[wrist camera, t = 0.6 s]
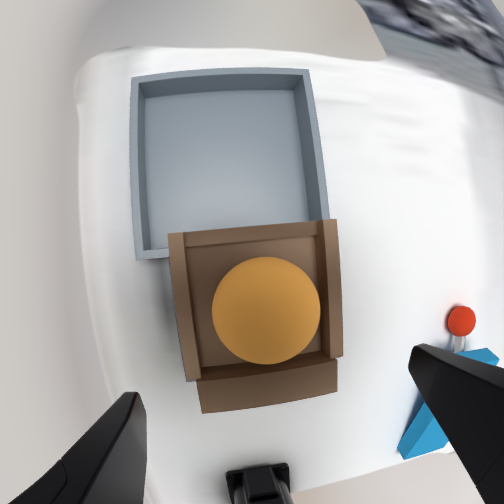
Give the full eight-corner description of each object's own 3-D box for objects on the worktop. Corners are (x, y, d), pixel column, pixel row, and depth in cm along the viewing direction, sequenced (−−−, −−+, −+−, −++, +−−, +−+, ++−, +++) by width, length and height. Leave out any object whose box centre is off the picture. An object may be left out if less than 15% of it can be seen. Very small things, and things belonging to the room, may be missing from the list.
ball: (304, 337, 14) (338, 370, 10) (217, 349, 13) (221, 390, 9) (298, 250, 14) (334, 254, 10) (206, 259, 13) (205, 267, 9)
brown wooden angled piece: (286, 327, 24) (345, 389, 13) (198, 337, 23) (192, 414, 12) (278, 227, 23) (339, 218, 12) (186, 236, 22) (166, 233, 11)
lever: (421, 414, 34) (475, 300, 29) (443, 447, 28) (513, 328, 22) (382, 422, 33) (437, 300, 28) (403, 460, 27) (478, 333, 21)
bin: (315, 241, 26) (331, 241, 22) (145, 257, 24) (136, 260, 20) (297, 87, 25) (308, 69, 22) (139, 96, 23) (131, 77, 20)
